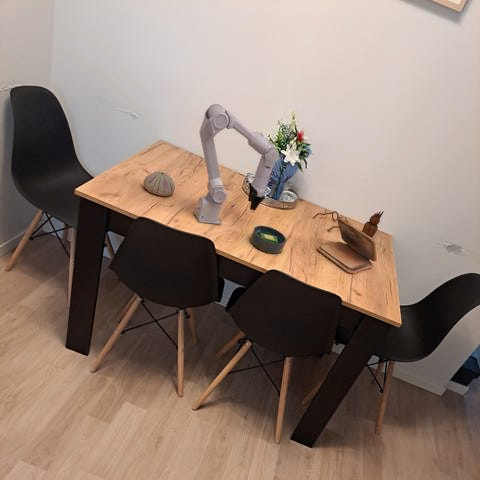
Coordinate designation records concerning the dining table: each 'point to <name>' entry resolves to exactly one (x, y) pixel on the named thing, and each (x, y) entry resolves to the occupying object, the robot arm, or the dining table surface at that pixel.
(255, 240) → the bowl
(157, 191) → the sea urchin shell
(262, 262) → the dining table surface
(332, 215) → the glasses
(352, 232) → the case
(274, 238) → the green box
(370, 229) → the wooden figurine
